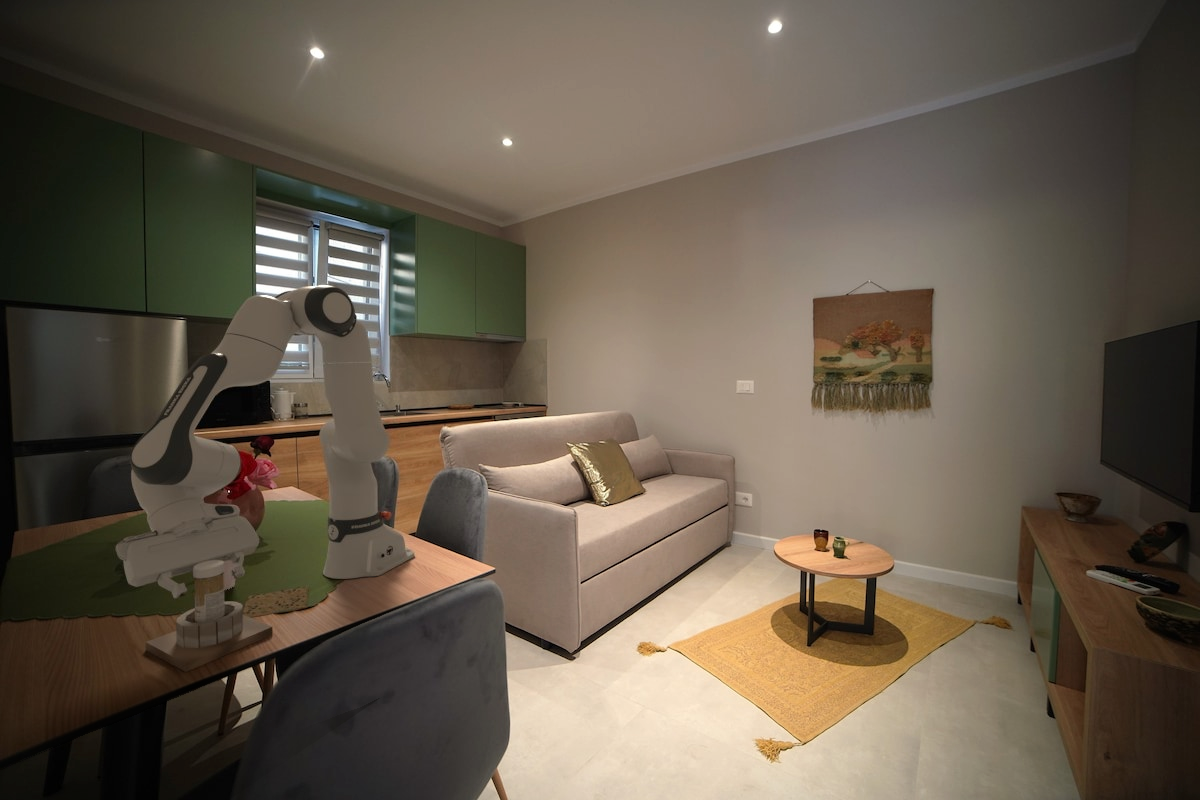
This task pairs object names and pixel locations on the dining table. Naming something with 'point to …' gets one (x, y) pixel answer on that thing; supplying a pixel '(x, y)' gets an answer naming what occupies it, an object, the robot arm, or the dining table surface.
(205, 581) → the sprinkles bottle
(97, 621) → the dining table surface
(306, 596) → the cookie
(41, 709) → the dining table surface
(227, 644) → the collar stand
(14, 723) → the dining table surface
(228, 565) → the smoothie
